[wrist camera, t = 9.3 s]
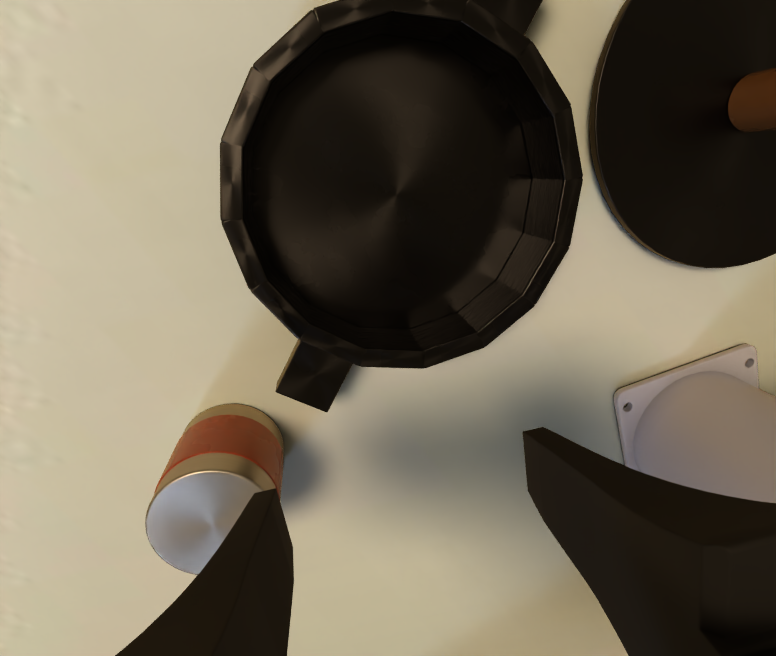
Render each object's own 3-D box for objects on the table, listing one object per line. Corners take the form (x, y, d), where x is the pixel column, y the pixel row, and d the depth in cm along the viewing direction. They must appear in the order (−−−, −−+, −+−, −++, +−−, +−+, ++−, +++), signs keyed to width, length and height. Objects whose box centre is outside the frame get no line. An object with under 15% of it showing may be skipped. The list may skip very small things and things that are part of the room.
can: (299, 471, 25) (296, 551, 20) (205, 505, 25) (177, 594, 20) (262, 388, 24) (249, 450, 18) (161, 422, 23) (118, 496, 18)
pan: (633, 67, 22) (687, 50, 19) (425, 429, 26) (441, 465, 22) (352, -137, 18) (361, -199, 15) (159, 320, 22) (134, 345, 19)
